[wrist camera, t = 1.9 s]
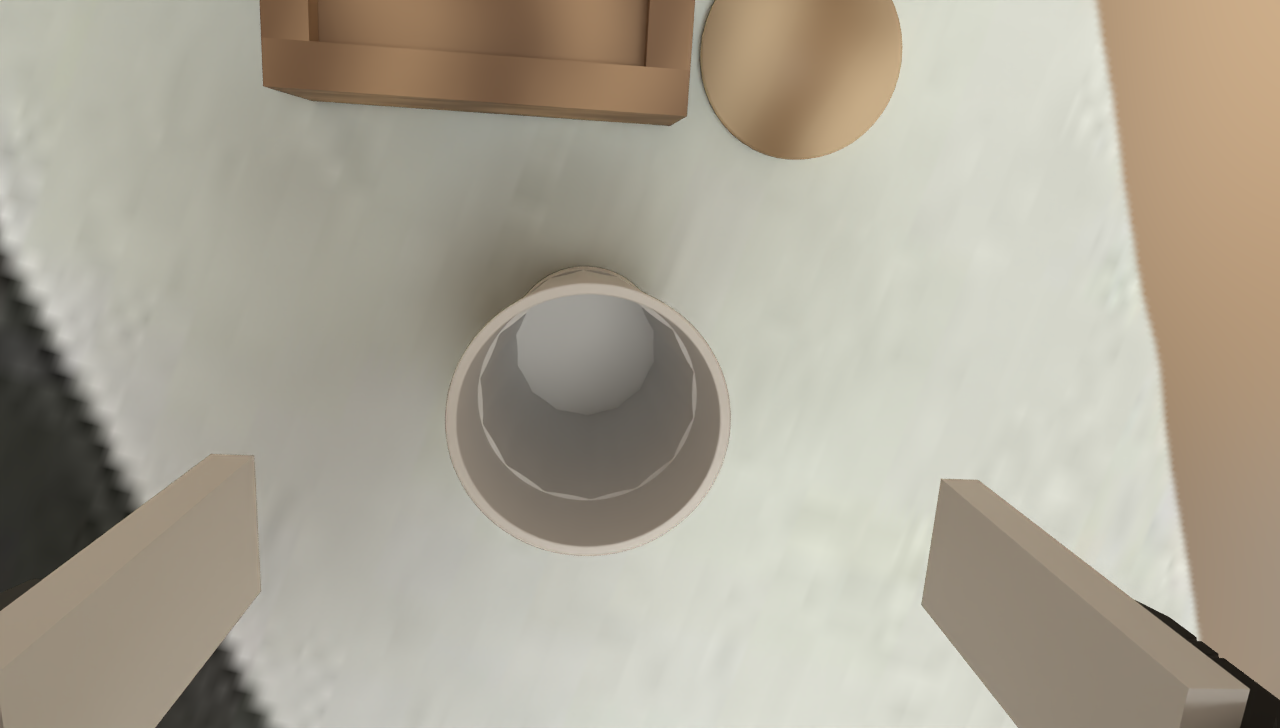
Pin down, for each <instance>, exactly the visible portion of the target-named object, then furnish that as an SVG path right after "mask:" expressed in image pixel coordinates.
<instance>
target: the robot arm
mask: <svg viewBox="0 0 1280 728" xmlns="http://www.w3.org/2000/svg"><path fill="white" fill-rule="evenodd" d="M260 592H261V582H260V562H259V542H258V522H257V502H256V482H255V462H254V455H224V454H210V455H209V456H208V457H206V458H205V459H204V460H202V461H201V462H200V463H198V464H197V465H196V466H194V467H193V468H192V469H190V470H189V471H188V472H186V473H185V474H184V475H182V476H181V477H180V478H178V479H177V480H176V481H174V482H173V483H171V484H170V485H169V486H167V487H166V488H165V489H163V490H162V491H161V492H159V493H158V494H157V495H155V496H154V497H153V498H151V499H150V500H149V501H147V502H146V503H145V504H143V505H142V506H141V507H139V508H138V509H137V510H135V511H134V512H133V513H131V514H130V515H129V516H127V517H126V518H125V519H123V520H122V521H121V522H119V523H118V524H117V525H115V526H114V527H112V528H111V529H110V530H108V531H107V532H106V533H104V534H103V535H102V536H100V537H99V538H98V539H96V540H95V541H94V542H92V543H91V544H90V545H88V546H87V547H86V548H84V549H83V550H82V551H80V552H79V553H78V554H76V555H75V556H74V557H72V558H71V559H70V560H68V561H67V562H66V563H64V564H63V565H62V566H60V567H59V568H58V569H56V570H55V571H54V572H52V573H51V574H49V575H48V576H47V577H45V578H44V579H32V580H29V581H27V582H25V583H23V584H20V585H18V586H16V587H13V588H11V589H9V590H7V591H4V592H2V593H0V728H155V727H156V726H157V724H158V723H159V722H160V721H161V719H162V718H163V717H164V715H165V714H166V713H167V712H168V710H169V709H170V708H171V706H172V705H173V704H174V703H175V701H176V700H177V699H178V697H179V696H180V695H181V694H182V692H183V691H184V690H185V688H186V687H187V686H188V685H189V683H190V682H191V681H192V679H193V678H194V677H195V676H196V674H197V673H198V672H199V670H200V669H201V668H202V667H203V665H204V664H205V663H206V661H207V660H208V659H209V658H210V656H211V655H212V654H213V652H214V651H215V650H216V649H217V647H218V646H219V645H220V643H221V642H222V641H223V640H224V638H225V637H226V636H227V634H228V633H229V632H230V630H231V629H232V628H233V627H234V625H235V624H236V623H237V621H238V620H239V619H240V618H241V616H242V615H243V614H244V612H245V611H246V610H247V609H248V607H249V606H250V605H251V603H252V602H253V601H254V600H255V598H256V597H257V596H258V594H259V593H260ZM921 605H922V606H923V608H924V609H925V610H926V611H927V613H928V614H929V615H930V616H931V618H932V619H933V620H934V621H935V623H936V624H937V625H938V627H939V628H940V629H941V630H942V632H943V633H944V634H945V635H946V637H947V638H948V639H949V641H950V642H951V643H952V644H953V646H954V647H955V648H956V649H957V651H958V652H959V653H960V654H961V656H962V657H963V658H964V660H965V661H966V662H967V663H968V665H969V666H970V667H971V668H972V670H973V671H974V672H975V673H976V675H977V676H978V677H979V679H980V680H981V681H982V682H983V684H984V685H985V686H986V687H987V689H988V690H989V691H990V693H991V694H992V695H993V696H994V698H995V699H996V700H997V701H998V703H999V704H1000V705H1001V706H1002V708H1003V709H1004V710H1005V712H1006V713H1007V714H1008V715H1009V717H1010V718H1011V719H1012V720H1013V722H1014V723H1015V724H1016V725H1017V727H1018V728H1280V700H1279V699H1278V698H1276V697H1275V696H1274V695H1272V694H1271V693H1270V692H1268V691H1267V690H1266V689H1264V688H1263V687H1262V686H1260V685H1259V684H1258V683H1256V682H1255V681H1254V680H1252V679H1251V678H1249V677H1248V676H1247V675H1246V674H1244V673H1243V672H1242V671H1240V670H1239V669H1237V668H1236V667H1235V666H1234V665H1232V664H1231V663H1229V662H1228V661H1227V660H1226V659H1224V658H1219V657H1218V653H1216V652H1215V651H1214V650H1212V649H1211V648H1210V647H1208V646H1207V645H1206V644H1204V643H1203V642H1202V641H1197V639H1196V638H1197V637H1195V636H1194V635H1193V634H1191V633H1190V632H1189V631H1187V630H1186V629H1185V628H1183V627H1182V626H1181V625H1179V624H1178V623H1177V622H1175V621H1174V620H1173V619H1171V618H1170V617H1168V616H1166V615H1164V614H1162V613H1160V612H1158V611H1156V610H1154V609H1152V608H1150V607H1148V606H1146V605H1144V604H1142V603H1140V602H1138V601H1136V600H1134V599H1132V598H1131V597H1130V596H1128V595H1127V594H1126V593H1124V592H1123V591H1122V590H1121V589H1119V588H1118V587H1117V586H1115V585H1114V584H1113V583H1111V582H1110V581H1109V580H1108V579H1106V578H1105V577H1104V576H1102V575H1101V574H1100V573H1098V572H1097V571H1096V570H1095V569H1093V568H1092V567H1091V566H1089V565H1088V564H1087V563H1085V562H1084V561H1083V560H1082V559H1080V558H1079V557H1078V556H1076V555H1075V554H1074V553H1072V552H1071V551H1070V550H1069V549H1067V548H1066V547H1065V546H1063V545H1062V544H1061V543H1059V542H1058V541H1057V540H1056V539H1054V538H1053V537H1052V536H1050V535H1049V534H1048V533H1046V532H1045V531H1044V530H1043V529H1041V528H1040V527H1039V526H1037V525H1036V524H1035V523H1033V522H1032V521H1031V520H1030V519H1028V518H1027V517H1026V516H1024V515H1023V514H1022V513H1020V512H1019V511H1018V510H1017V509H1015V508H1014V507H1013V506H1011V505H1010V504H1009V503H1007V502H1006V501H1005V500H1004V499H1002V498H1001V497H1000V496H998V495H997V494H996V493H994V492H993V491H992V490H991V489H989V488H988V487H987V486H985V485H984V484H983V483H981V482H980V481H979V480H963V479H941V482H940V489H939V495H938V501H937V508H936V514H935V521H934V527H933V533H932V540H931V546H930V553H929V559H928V566H927V572H926V578H925V585H924V591H923V598H922V604H921Z"/></svg>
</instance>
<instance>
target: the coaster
mask: <svg viewBox="0 0 1280 728" xmlns="http://www.w3.org/2000/svg"><path fill="white" fill-rule="evenodd" d="M901 60H902V34H901V28H900V23H899V18H898V15H897V12H896V9H895V6H894V4H893V2H892V0H715V2H714V4H713V6H712V8H711V10H710V12H709V15H708V17H707V20H706V23H705V27H704V31H703V34H702V41H701V49H700V64H701V73H702V79H703V84H704V88H705V91H706V94H707V97H708V99H709V102H710V104H711V106H712V108H713V110H714V111H715V113H716V115H717V116H718V118H719V119H720V121H721V122H722V124H723V125H724V126H725V127H726V128H727V129H728V130H729V131H730V132H731V134H732V135H734V136H735V137H736V138H737V139H738V140H740V141H741V142H742V143H744V144H745V145H747V146H749V147H750V148H752V149H754V150H756V151H758V152H760V153H763V154H765V155H769V156H772V157H776V158H783V159H809V158H816V157H820V156H824V155H828V154H831V153H833V152H836V151H838V150H840V149H842V148H844V147H846V146H848V145H849V144H851V143H853V142H854V141H855V140H857V139H858V138H859V137H860V136H862V135H863V134H864V133H865V132H866V131H867V130H868V129H869V128H870V127H871V126H872V125H873V124H874V123H875V122H876V120H877V119H878V118H879V117H880V115H881V114H882V112H883V111H884V109H885V107H886V106H887V104H888V102H889V101H890V98H891V96H892V94H893V92H894V89H895V86H896V83H897V80H898V77H899V72H900V67H901Z"/></svg>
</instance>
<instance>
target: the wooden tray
mask: <svg viewBox="0 0 1280 728" xmlns="http://www.w3.org/2000/svg"><path fill="white" fill-rule="evenodd" d="M694 8H695V0H260V20H261V45H262V69H263V86H264V87H268V88H271V89H274V90H278V91H281V92H284V93H288V94H291V95H295V96H298V97H301V98H305V99H308V100H311V101H322V102H336V103H351V104H365V105H379V106H394V107H408V108H422V109H437V110H451V111H466V112H480V113H494V114H509V115H523V116H537V117H552V118H566V119H581V120H595V121H609V122H624V123H638V124H652V125H667V126H671V125H672V124H674V123H676V122H678V121H679V120H681V119H683V118H685V117H686V116H687V106H688V92H689V78H690V64H691V50H692V36H693V22H694Z"/></svg>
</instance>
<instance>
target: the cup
mask: <svg viewBox="0 0 1280 728" xmlns="http://www.w3.org/2000/svg"><path fill="white" fill-rule="evenodd" d="M730 424H731V411H730V400H729V394H728V389H727V385H726V382H725V378H724V375H723V373H722V370H721V367H720V365H719V363H718V361H717V359H716V357H715V355H714V353H713V352H712V350H711V348H710V347H709V345H708V344H707V342H706V341H705V339H704V338H703V337H702V336H701V334H700V333H699V332H698V331H697V330H696V329H695V327H694V326H693V325H692V324H691V323H690V322H689V321H687V320H686V319H685V318H684V317H683V316H682V315H681V314H679V313H678V312H677V311H675V310H674V309H672V308H671V307H669V306H668V305H666V304H665V303H663V302H661V301H659V300H658V299H656V298H654V297H652V296H650V295H648V294H646V293H644V292H642V291H640V290H639V289H638V288H637V287H636V286H635V285H634V284H633V283H632V282H630V281H629V280H628V279H626V278H625V277H623V276H621V275H619V274H617V273H615V272H612V271H610V270H607V269H603V268H598V267H590V266H581V267H572V268H567V269H563V270H560V271H558V272H555V273H553V274H551V275H549V276H547V277H545V278H544V279H542V280H541V281H540V282H538V283H537V284H536V285H535V286H534V287H533V288H532V289H531V290H530V291H529V292H528V293H527V294H526V295H525V297H523V298H521V299H520V300H518V301H517V302H515V303H513V304H512V305H510V306H508V307H507V308H505V309H504V310H503V311H501V312H500V313H499V314H497V315H496V316H495V317H494V318H493V319H491V320H490V321H489V322H488V323H487V324H486V325H485V326H484V327H483V328H482V329H481V330H480V331H479V333H478V334H477V335H476V336H475V337H474V339H473V340H472V341H471V343H470V344H469V345H468V347H467V348H466V350H465V352H464V353H463V355H462V357H461V359H460V361H459V363H458V365H457V367H456V369H455V372H454V374H453V377H452V380H451V383H450V387H449V391H448V396H447V402H446V411H445V430H446V439H447V445H448V450H449V454H450V458H451V461H452V464H453V467H454V469H455V472H456V474H457V476H458V478H459V480H460V482H461V484H462V486H463V487H464V489H465V491H466V492H467V494H468V495H469V497H470V498H471V499H472V501H473V502H474V503H475V505H476V506H477V507H478V508H479V509H480V510H481V511H482V512H483V513H484V514H485V515H486V516H487V517H488V518H489V519H490V520H491V521H492V522H493V523H495V524H496V525H497V526H498V527H500V528H501V529H502V530H504V531H505V532H507V533H508V534H510V535H512V536H513V537H515V538H517V539H519V540H521V541H523V542H525V543H527V544H530V545H532V546H535V547H537V548H540V549H543V550H547V551H551V552H555V553H560V554H566V555H576V556H598V555H607V554H613V553H618V552H623V551H626V550H630V549H633V548H636V547H639V546H641V545H644V544H646V543H648V542H650V541H653V540H655V539H656V538H658V537H660V536H662V535H664V534H665V533H667V532H668V531H670V530H671V529H673V528H674V527H675V526H677V525H678V524H679V523H680V522H682V521H683V520H684V519H685V518H686V517H687V516H688V515H689V514H690V513H691V512H692V511H693V510H694V509H695V508H696V507H697V506H698V505H699V504H700V502H701V501H702V500H703V498H704V497H705V496H706V494H707V493H708V491H709V490H710V488H711V487H712V485H713V483H714V481H715V479H716V477H717V475H718V473H719V471H720V469H721V466H722V464H723V461H724V458H725V455H726V451H727V447H728V442H729V436H730Z"/></svg>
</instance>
